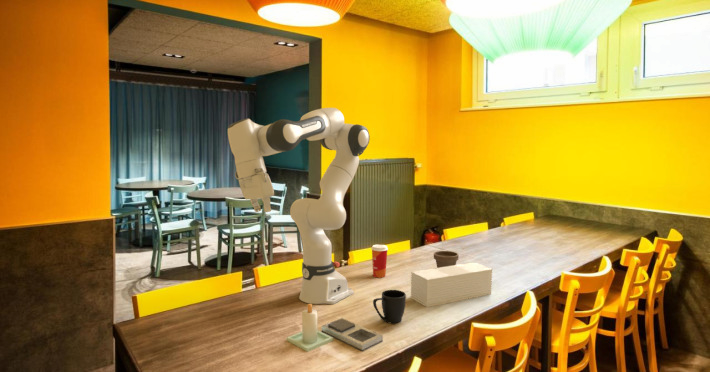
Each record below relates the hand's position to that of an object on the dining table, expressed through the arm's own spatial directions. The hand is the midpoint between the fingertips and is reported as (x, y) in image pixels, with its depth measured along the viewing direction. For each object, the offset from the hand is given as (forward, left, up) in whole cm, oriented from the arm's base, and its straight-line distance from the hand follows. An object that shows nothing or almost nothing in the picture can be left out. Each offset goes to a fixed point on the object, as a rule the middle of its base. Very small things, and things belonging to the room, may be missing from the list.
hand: (263, 211), depth 137 cm
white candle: (-4, +19, -38) cm, 43 cm away
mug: (-33, +26, -39) cm, 57 cm away
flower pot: (-92, +11, -39) cm, 100 cm away
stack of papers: (-70, +28, -39) cm, 85 cm away
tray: (-4, +19, -39) cm, 43 cm away
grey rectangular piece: (-15, +26, -39) cm, 49 cm away
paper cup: (-68, -9, -39) cm, 79 cm away
